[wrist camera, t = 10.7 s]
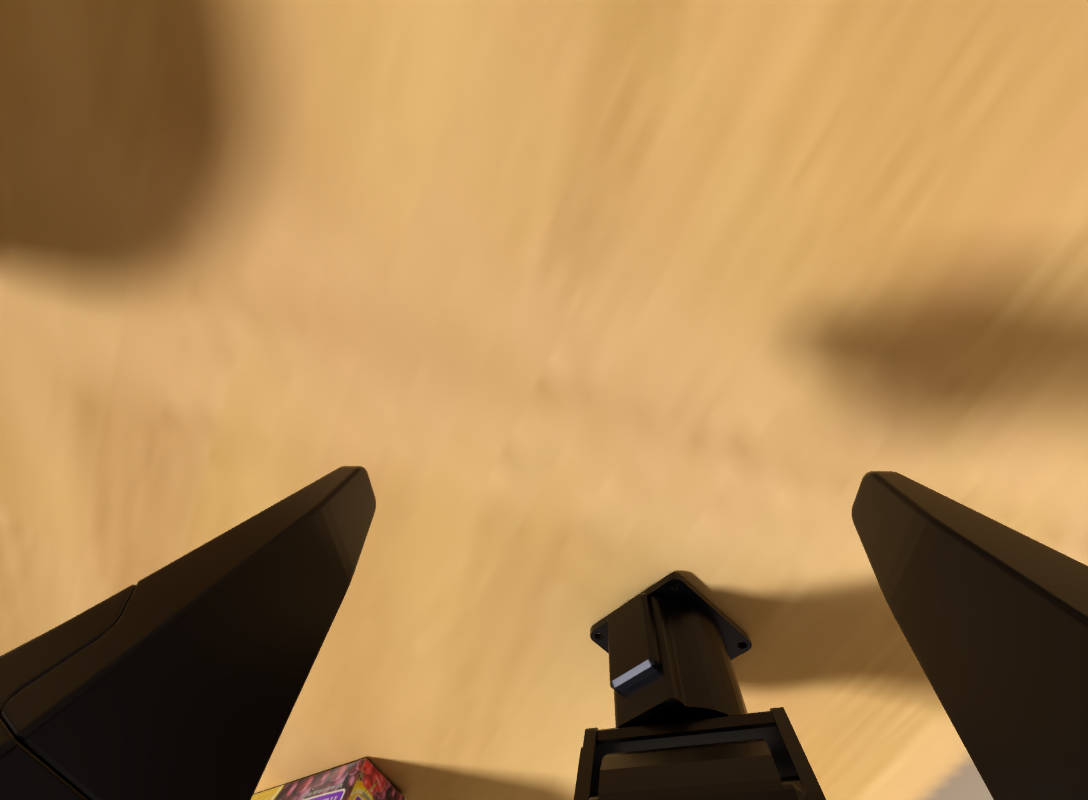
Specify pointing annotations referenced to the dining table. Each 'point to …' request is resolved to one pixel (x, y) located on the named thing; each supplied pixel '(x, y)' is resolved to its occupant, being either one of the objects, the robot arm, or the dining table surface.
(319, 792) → the snack box
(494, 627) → the dining table surface
